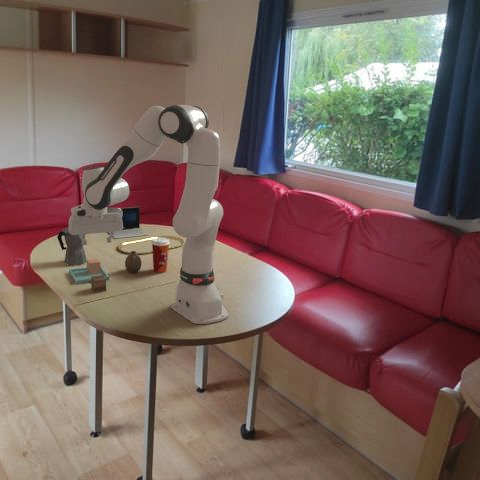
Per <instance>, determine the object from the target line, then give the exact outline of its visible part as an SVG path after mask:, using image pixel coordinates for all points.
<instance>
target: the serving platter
mask: <svg viewBox="0 0 480 480" xmlns="http://www.w3.org/2000/svg"><path fill="white" fill-rule="evenodd" d="M154 238H166V239H168V240H175V241H178V242H179V243H180V244H178V245H175V246H169V249H168V250H172V249H177V248H180V247H181V246H182V245H184V243H185V240H184V239H183V238H182V237H179V236H174V235H156V236H149V237H143V238H139V239H134V240H133V239H132V240H128V241H124V242H121V243H120V244H118V245H117V249H118V250H119V251H120V252H122V253H124V254H127V255H129V254H130V252H131V251H125V250H123V249H122V248H123V247H124V246H128V245H129V246H130V245H134V244H139V243H143V242H149V241H150V242H151V241H152V240H153V239H154ZM136 253H137V254H138V256H140V255H147V254H153V250H151V251H145V252H144V251H143V252H136Z"/></svg>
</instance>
